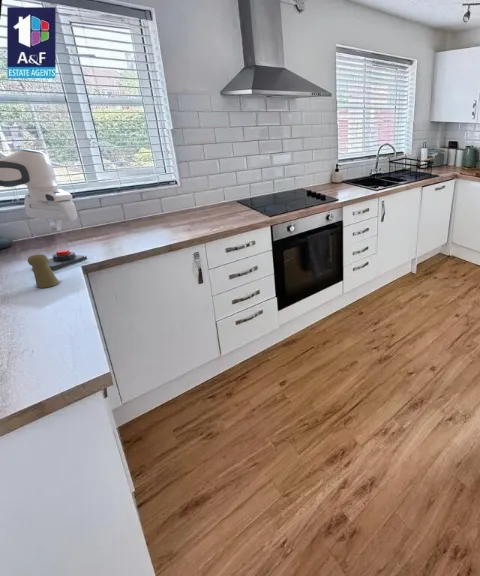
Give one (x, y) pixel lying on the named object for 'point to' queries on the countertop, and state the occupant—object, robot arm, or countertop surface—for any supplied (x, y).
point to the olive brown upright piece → (42, 271)
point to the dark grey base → (64, 260)
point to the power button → (62, 252)
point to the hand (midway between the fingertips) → (56, 230)
